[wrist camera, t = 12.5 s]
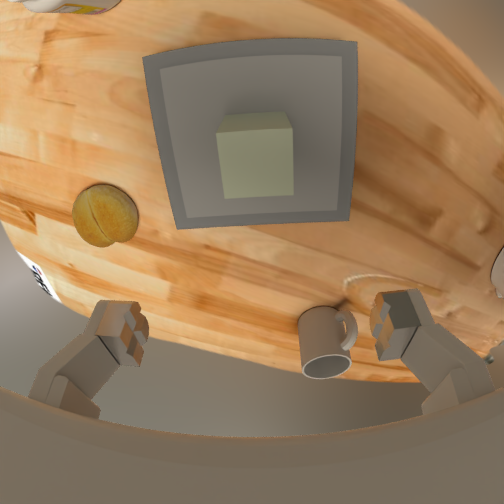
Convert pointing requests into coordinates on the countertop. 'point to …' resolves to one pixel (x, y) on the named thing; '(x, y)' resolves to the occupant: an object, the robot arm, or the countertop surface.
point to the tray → (256, 101)
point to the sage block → (256, 155)
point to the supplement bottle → (68, 6)
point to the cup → (326, 341)
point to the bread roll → (104, 216)
